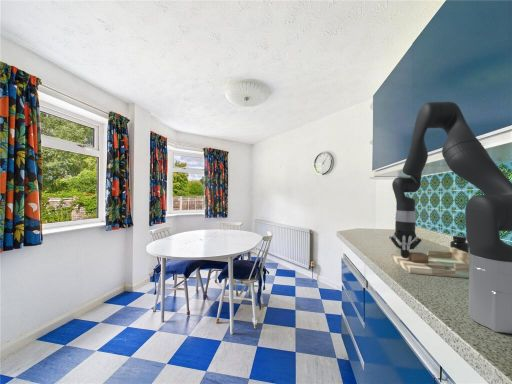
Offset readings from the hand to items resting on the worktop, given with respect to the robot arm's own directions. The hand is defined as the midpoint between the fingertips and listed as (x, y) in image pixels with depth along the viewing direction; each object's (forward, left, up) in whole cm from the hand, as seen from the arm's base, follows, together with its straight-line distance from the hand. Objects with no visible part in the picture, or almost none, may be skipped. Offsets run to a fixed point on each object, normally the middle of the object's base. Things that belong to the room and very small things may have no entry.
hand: (404, 257), depth 98 cm
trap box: (0, -11, -4) cm, 12 cm away
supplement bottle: (+16, -31, -4) cm, 35 cm away
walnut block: (0, -5, -1) cm, 5 cm away
